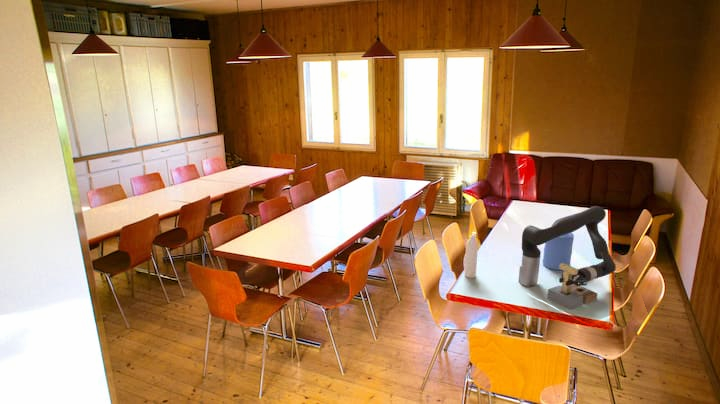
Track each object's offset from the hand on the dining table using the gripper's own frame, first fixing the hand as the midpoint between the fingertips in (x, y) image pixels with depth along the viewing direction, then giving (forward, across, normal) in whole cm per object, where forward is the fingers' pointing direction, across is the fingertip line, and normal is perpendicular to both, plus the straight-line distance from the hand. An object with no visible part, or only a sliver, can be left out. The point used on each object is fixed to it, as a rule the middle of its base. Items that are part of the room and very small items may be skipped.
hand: (563, 282), depth 240 cm
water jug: (-39, -34, +13) cm, 53 cm away
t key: (-3, 0, +11) cm, 11 cm away
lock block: (-14, 0, +12) cm, 19 cm away
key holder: (-3, 0, +12) cm, 13 cm away
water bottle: (+15, -50, +13) cm, 54 cm away
